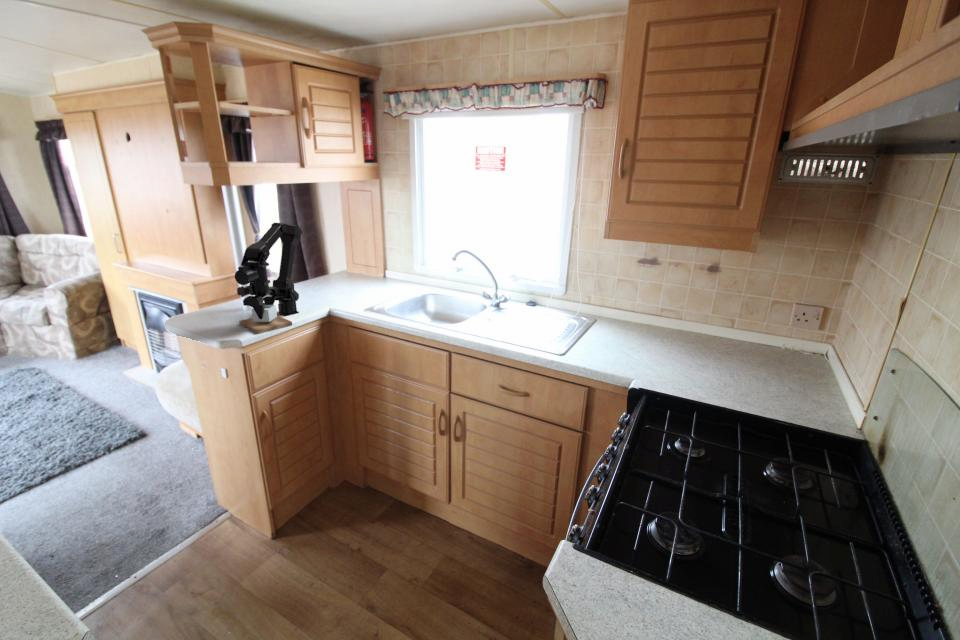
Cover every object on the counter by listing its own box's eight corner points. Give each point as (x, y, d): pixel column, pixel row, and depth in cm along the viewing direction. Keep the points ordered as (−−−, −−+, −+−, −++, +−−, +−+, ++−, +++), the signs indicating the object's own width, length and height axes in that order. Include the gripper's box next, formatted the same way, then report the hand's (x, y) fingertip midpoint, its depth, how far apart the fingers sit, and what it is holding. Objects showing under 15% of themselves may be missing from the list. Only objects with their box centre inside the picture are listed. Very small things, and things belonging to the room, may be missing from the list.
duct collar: (261, 316, 187) (259, 304, 186) (277, 316, 187) (275, 305, 186) (253, 321, 181) (251, 309, 180) (269, 321, 181) (268, 310, 179)
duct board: (273, 316, 195) (271, 302, 193) (292, 325, 185) (290, 310, 183) (239, 324, 185) (237, 309, 183) (258, 334, 175) (255, 318, 173)
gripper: (251, 272, 188) (256, 308, 193) (226, 284, 170) (232, 323, 175) (278, 273, 187) (282, 309, 193) (255, 285, 170) (261, 324, 175)
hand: (264, 316), depth 184 cm, fingers closed on duct collar, 7 cm apart
